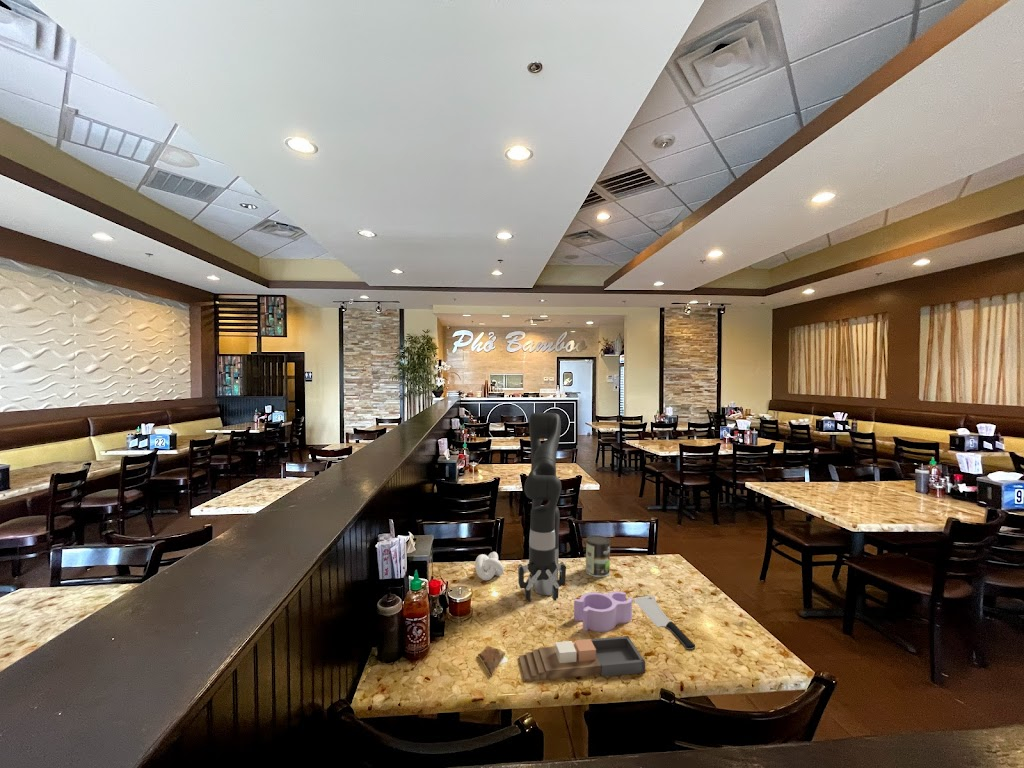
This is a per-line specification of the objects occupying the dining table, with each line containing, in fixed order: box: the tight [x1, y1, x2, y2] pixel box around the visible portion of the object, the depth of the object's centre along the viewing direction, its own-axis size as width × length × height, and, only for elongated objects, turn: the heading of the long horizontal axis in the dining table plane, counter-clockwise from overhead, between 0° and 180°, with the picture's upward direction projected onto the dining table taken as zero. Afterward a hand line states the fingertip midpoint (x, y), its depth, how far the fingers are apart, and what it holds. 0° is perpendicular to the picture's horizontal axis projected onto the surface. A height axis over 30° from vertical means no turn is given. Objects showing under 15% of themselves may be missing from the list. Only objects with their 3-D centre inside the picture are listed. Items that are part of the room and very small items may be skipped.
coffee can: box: [585, 534, 611, 578], centre depth 185 cm, size 10×10×14 cm
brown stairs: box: [518, 648, 547, 682], centre depth 124 cm, size 6×10×2 cm, turn 8°
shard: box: [477, 645, 506, 678], centre depth 127 cm, size 11×8×2 cm
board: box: [538, 646, 601, 680], centre depth 126 cm, size 16×10×2 cm, turn 98°
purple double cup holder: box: [573, 590, 633, 633], centre depth 149 cm, size 20×12×7 cm, turn 109°
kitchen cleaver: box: [632, 595, 696, 651], centre depth 149 cm, size 31×2×10 cm
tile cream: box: [554, 640, 576, 663], centre depth 126 cm, size 5×5×3 cm
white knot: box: [474, 551, 505, 581], centre depth 181 cm, size 11×12×9 cm
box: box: [590, 635, 646, 678], centre depth 128 cm, size 13×12×3 cm
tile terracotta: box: [573, 638, 596, 661], centre depth 127 cm, size 5×5×3 cm
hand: (541, 600), depth 124 cm, fingers open, 7 cm apart
